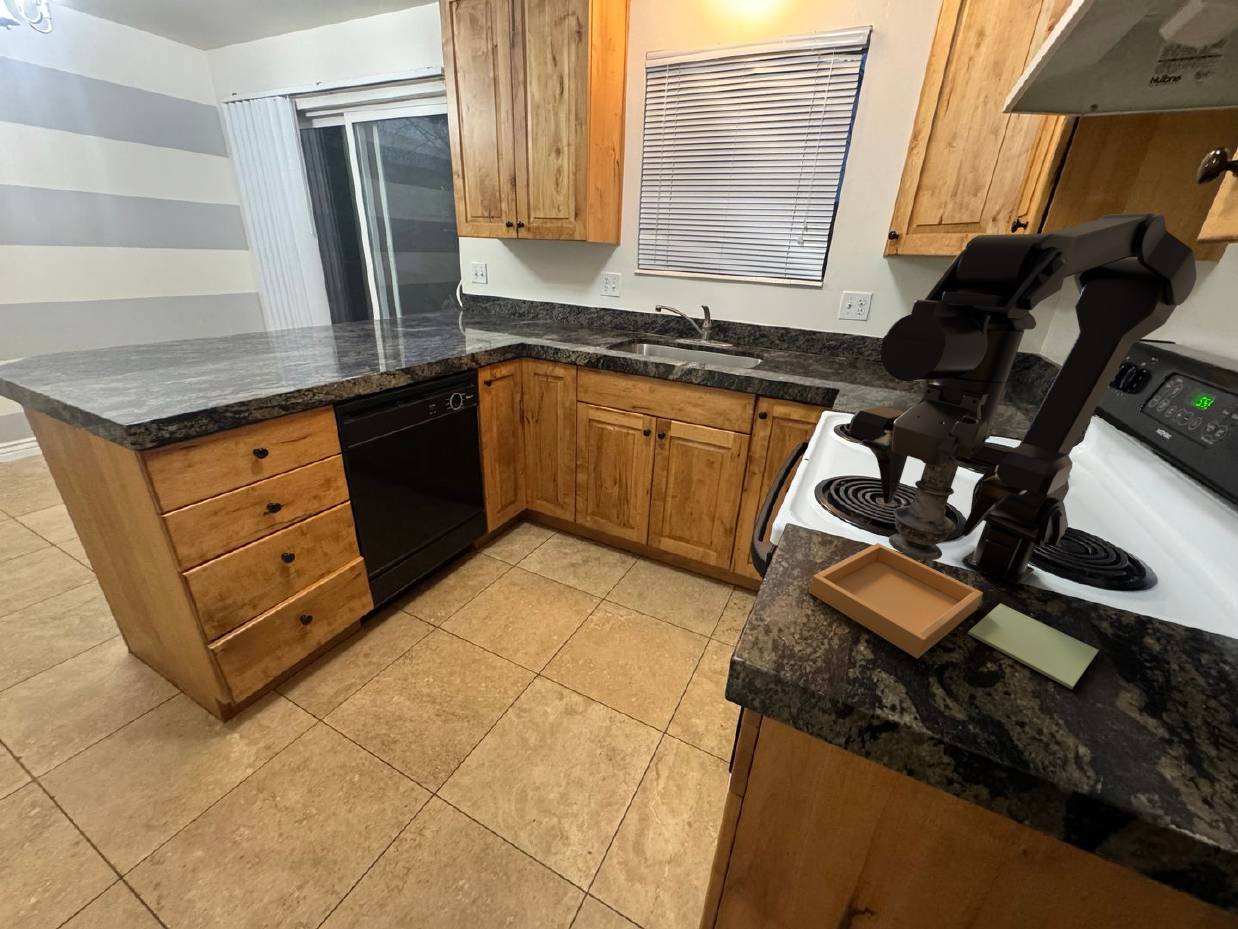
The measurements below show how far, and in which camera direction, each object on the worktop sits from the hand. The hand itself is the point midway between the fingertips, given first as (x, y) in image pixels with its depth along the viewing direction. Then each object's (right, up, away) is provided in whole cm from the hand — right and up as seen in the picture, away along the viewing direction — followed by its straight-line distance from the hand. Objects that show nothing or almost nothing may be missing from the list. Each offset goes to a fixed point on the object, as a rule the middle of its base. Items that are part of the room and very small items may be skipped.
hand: (924, 518), depth 54 cm
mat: (+11, -13, -1) cm, 17 cm away
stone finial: (0, -4, +1) cm, 4 cm away
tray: (-1, -10, +4) cm, 11 cm away
